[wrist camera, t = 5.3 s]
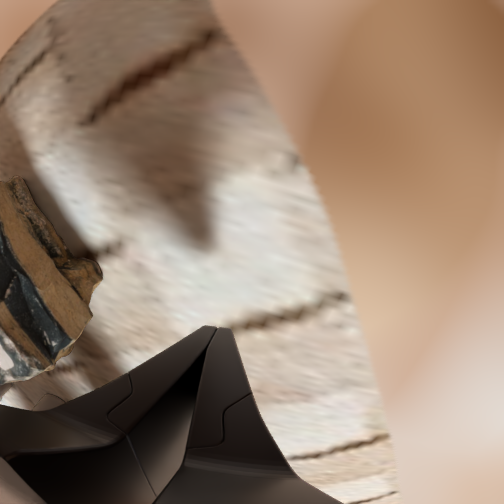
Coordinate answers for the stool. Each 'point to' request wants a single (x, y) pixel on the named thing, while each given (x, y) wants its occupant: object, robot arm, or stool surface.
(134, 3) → the stool surface
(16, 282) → the rock
